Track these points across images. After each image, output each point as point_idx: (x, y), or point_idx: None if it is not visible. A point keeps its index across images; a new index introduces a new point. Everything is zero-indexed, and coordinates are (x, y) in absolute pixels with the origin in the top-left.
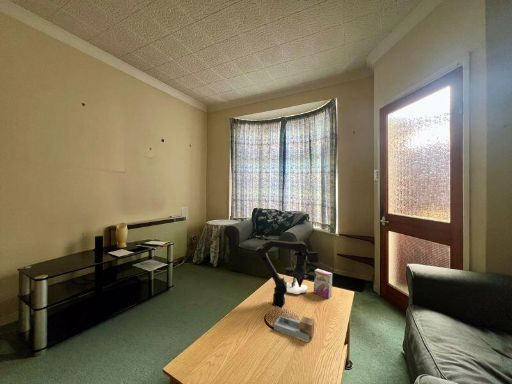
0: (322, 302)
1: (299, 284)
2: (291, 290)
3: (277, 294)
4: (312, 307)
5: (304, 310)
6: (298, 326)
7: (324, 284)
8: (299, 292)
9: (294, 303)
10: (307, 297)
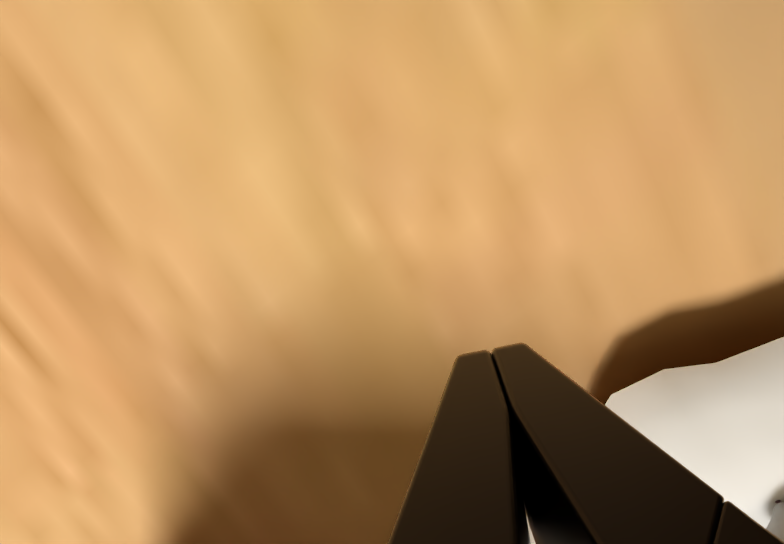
0: (146, 473)
1: (523, 428)
2: (768, 404)
3: None
4: (173, 231)
5: (226, 7)
6: None
7: None
8: None
9: (542, 106)
10: None
